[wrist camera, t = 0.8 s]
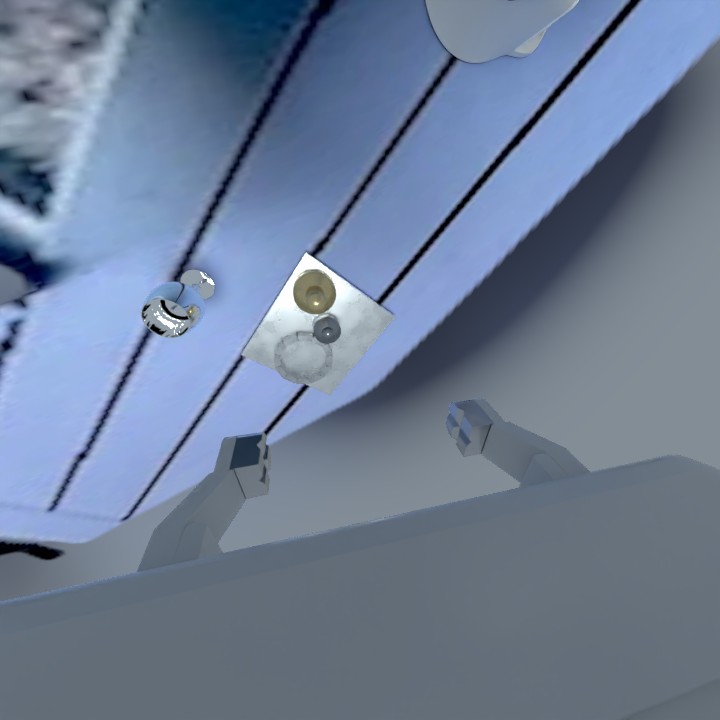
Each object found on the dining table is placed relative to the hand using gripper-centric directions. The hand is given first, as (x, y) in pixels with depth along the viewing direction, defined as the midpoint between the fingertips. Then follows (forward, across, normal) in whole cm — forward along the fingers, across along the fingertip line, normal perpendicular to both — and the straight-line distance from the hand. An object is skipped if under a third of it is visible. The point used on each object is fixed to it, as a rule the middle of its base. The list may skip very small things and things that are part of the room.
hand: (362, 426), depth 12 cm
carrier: (+35, 0, +13) cm, 37 cm away
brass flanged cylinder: (+34, 0, +5) cm, 34 cm away
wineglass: (+35, +17, +3) cm, 39 cm away
